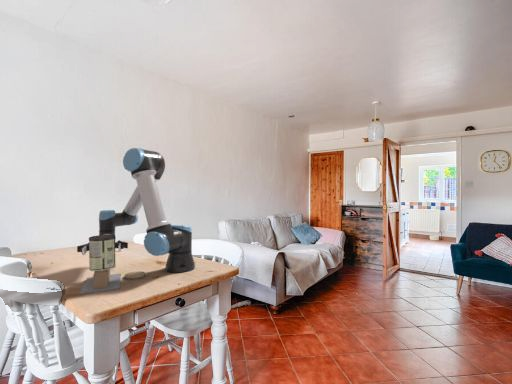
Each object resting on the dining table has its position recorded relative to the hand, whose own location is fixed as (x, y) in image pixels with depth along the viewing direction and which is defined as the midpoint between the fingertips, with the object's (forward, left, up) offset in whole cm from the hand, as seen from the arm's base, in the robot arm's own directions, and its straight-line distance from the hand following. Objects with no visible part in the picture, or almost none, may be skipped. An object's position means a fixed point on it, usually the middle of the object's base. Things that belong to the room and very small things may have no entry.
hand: (101, 250), depth 116 cm
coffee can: (+2, -2, -9) cm, 9 cm away
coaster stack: (-4, -15, -16) cm, 22 cm away
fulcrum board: (+2, -2, -16) cm, 16 cm away
